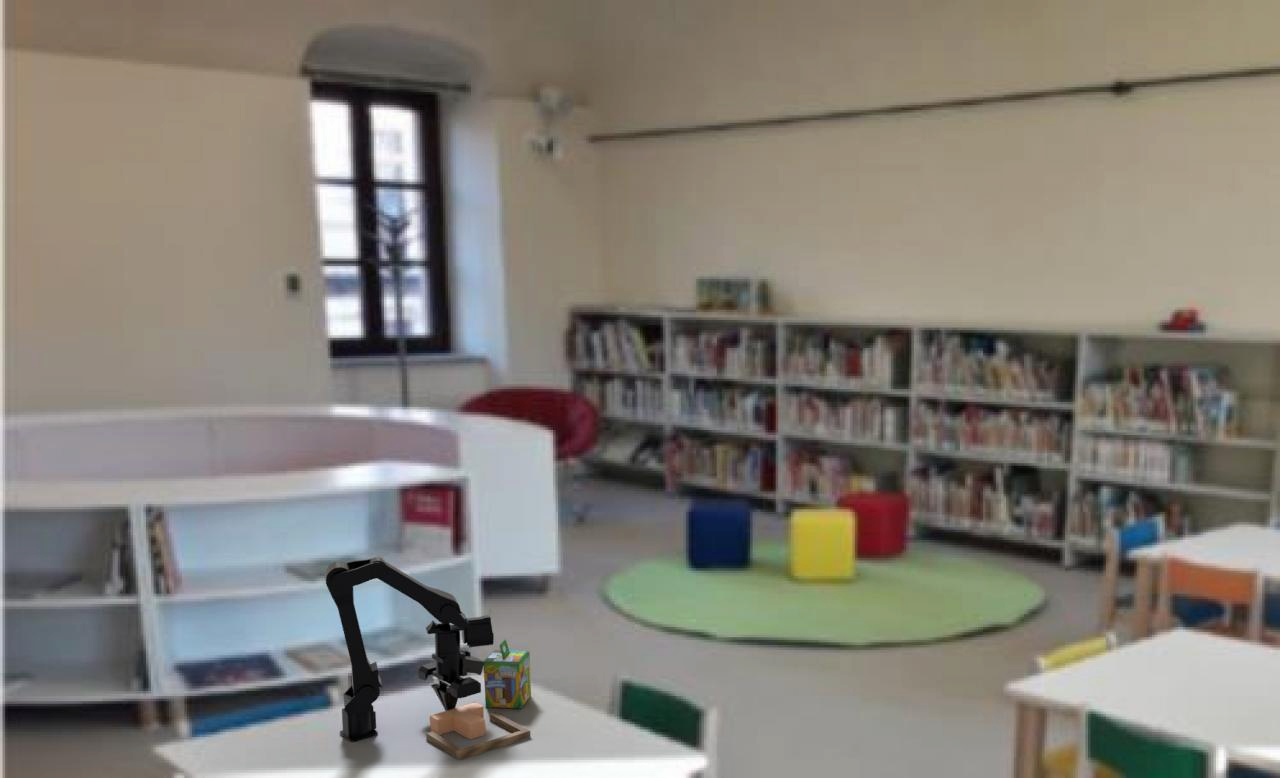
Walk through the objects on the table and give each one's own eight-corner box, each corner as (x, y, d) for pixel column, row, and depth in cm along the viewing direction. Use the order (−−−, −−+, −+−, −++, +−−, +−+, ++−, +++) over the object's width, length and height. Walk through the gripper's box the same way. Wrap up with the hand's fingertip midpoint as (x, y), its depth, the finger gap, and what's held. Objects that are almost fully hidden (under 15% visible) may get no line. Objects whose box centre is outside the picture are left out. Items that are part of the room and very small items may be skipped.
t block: (454, 744, 246) (453, 729, 246) (430, 730, 254) (429, 715, 254) (500, 729, 254) (499, 714, 254) (475, 716, 262) (475, 702, 262)
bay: (459, 760, 238) (459, 753, 238) (426, 739, 249) (426, 733, 249) (530, 737, 249) (530, 730, 249) (495, 718, 261) (495, 712, 260)
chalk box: (521, 710, 266) (519, 649, 264) (484, 708, 267) (481, 647, 266) (532, 695, 275) (530, 636, 273) (496, 693, 277) (494, 635, 275)
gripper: (499, 651, 255) (502, 717, 257) (457, 632, 270) (460, 695, 271) (457, 662, 248) (459, 730, 250) (416, 642, 263) (418, 707, 264)
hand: (450, 715), depth 259 cm, fingers closed
